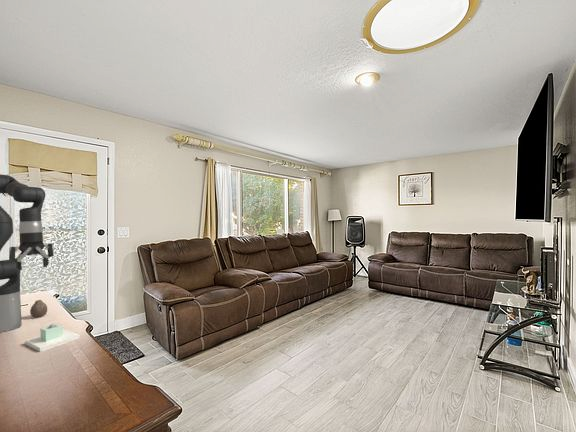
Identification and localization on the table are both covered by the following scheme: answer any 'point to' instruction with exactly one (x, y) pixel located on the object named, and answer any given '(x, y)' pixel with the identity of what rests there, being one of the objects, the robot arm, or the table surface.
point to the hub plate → (44, 345)
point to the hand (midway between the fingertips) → (32, 268)
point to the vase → (38, 309)
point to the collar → (51, 332)
